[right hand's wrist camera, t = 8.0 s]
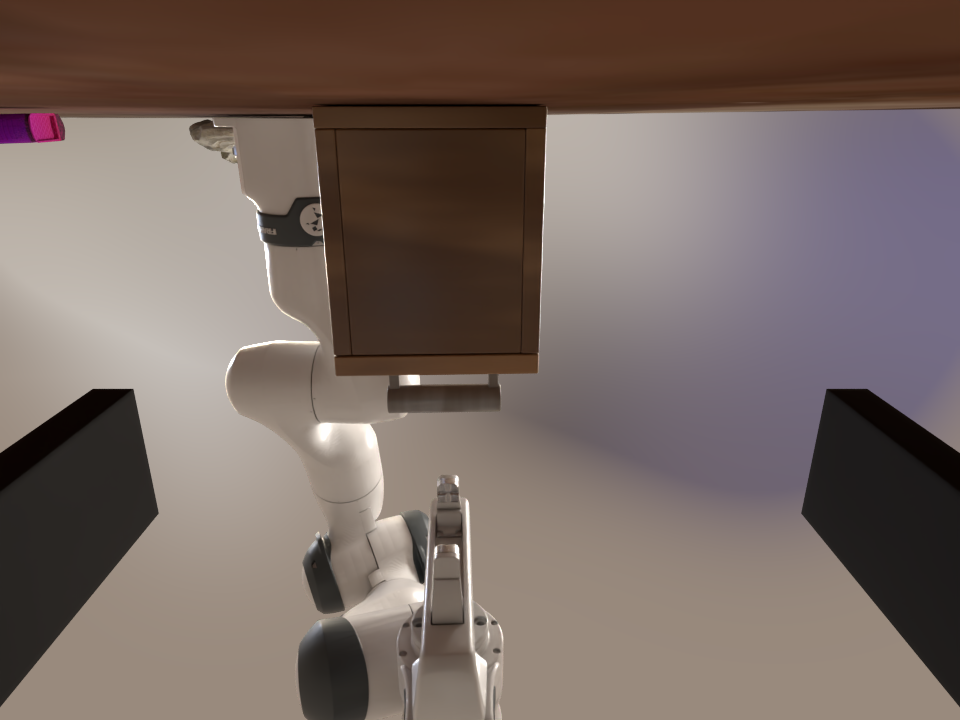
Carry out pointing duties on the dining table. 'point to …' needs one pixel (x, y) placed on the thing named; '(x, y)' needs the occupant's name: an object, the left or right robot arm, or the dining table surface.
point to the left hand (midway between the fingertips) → (447, 511)
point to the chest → (432, 227)
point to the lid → (439, 364)
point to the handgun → (31, 128)
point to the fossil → (214, 138)
